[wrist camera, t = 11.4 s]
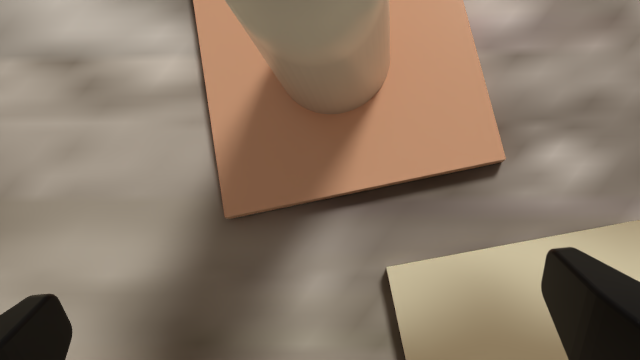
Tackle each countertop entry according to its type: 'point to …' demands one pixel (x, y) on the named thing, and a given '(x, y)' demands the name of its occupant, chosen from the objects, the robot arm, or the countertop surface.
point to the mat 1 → (346, 114)
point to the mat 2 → (495, 297)
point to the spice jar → (321, 48)
